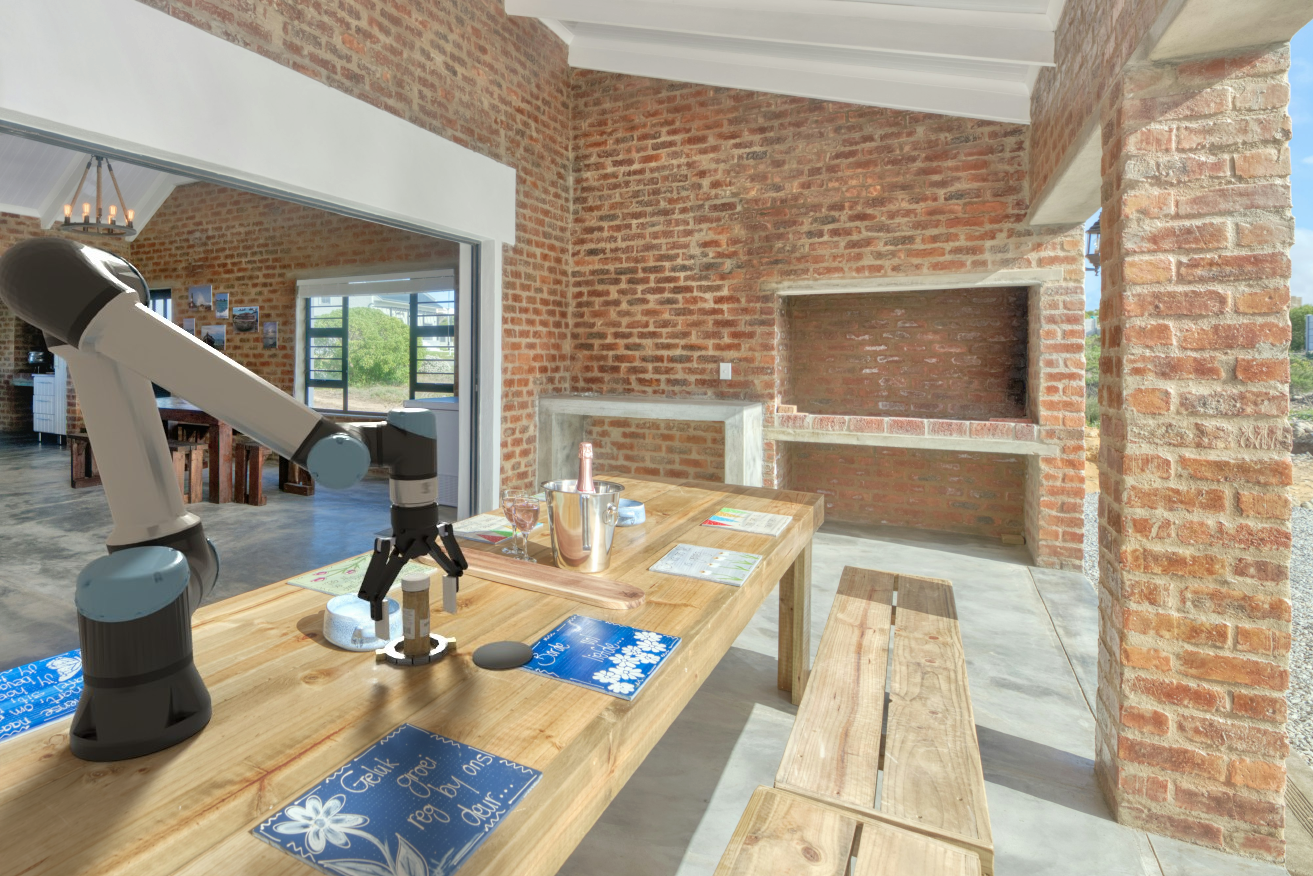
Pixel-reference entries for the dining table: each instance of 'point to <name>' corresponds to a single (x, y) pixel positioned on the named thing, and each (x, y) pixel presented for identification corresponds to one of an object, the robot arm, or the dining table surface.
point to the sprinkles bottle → (416, 613)
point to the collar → (418, 659)
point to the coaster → (502, 655)
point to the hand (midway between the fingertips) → (417, 624)
